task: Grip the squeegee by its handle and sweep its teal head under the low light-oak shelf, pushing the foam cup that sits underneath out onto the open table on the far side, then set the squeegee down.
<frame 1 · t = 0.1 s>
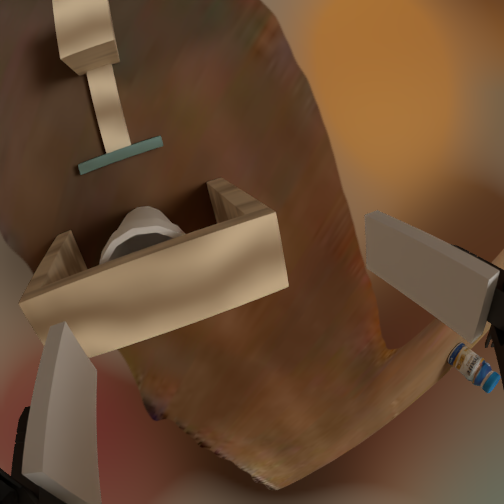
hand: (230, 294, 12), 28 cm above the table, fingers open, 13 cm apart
squeegee: (94, 43, 27), on the table
foam cup: (145, 230, 38), on the table
shelf: (145, 230, 38), on the table
beverage bottle: (454, 351, 85), on the table
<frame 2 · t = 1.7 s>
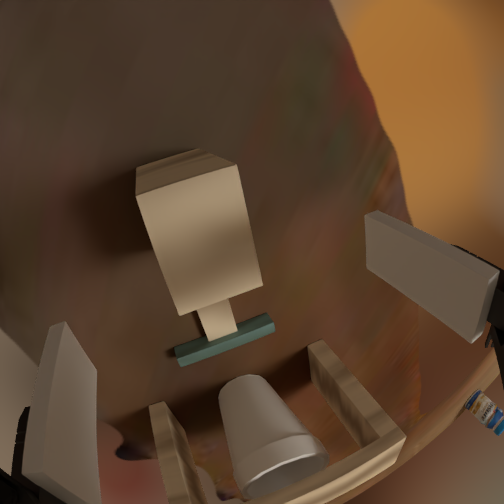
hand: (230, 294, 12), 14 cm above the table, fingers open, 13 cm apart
squeegee: (178, 199, 24), on the table
foam cup: (242, 391, 36), on the table
shelf: (243, 392, 36), on the table
beverage bottle: (471, 397, 84), on the table
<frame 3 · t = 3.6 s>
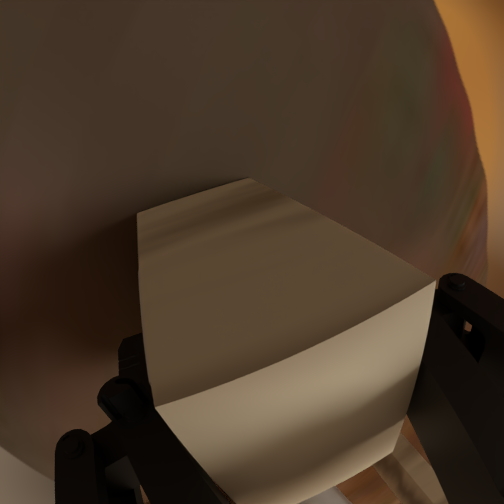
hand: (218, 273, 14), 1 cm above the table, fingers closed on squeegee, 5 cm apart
squeegee: (213, 265, 15), on the table, touching gripper
foam cup: (282, 471, 26), on the table
shelf: (283, 472, 26), on the table
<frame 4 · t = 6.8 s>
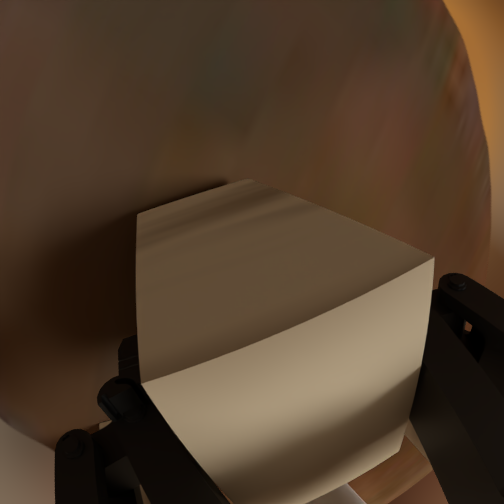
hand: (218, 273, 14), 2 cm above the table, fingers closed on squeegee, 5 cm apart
squeegee: (214, 267, 15), point 1 cm above the table, touching foam cup, gripper
foam cup: (267, 444, 25), on the table, touching squeegee
shelf: (256, 404, 21), on the table
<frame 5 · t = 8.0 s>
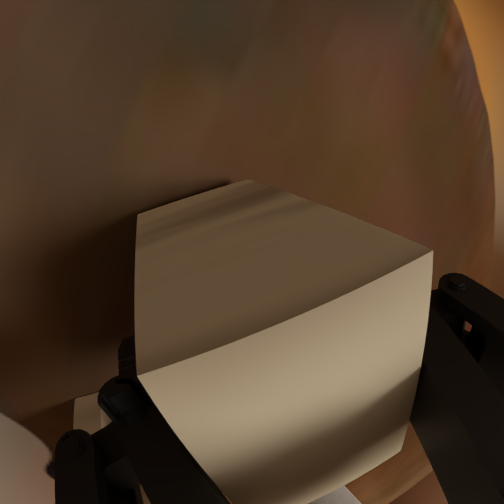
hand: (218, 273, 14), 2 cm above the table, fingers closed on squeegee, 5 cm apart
squeegee: (214, 268, 15), point 1 cm above the table, touching foam cup, gripper
foam cup: (265, 446, 25), on the table, touching squeegee
shelf: (248, 381, 20), on the table
when the fingers open (1 cm above the table, at t = 9.9 s): squeegee stays where it is, on the table.
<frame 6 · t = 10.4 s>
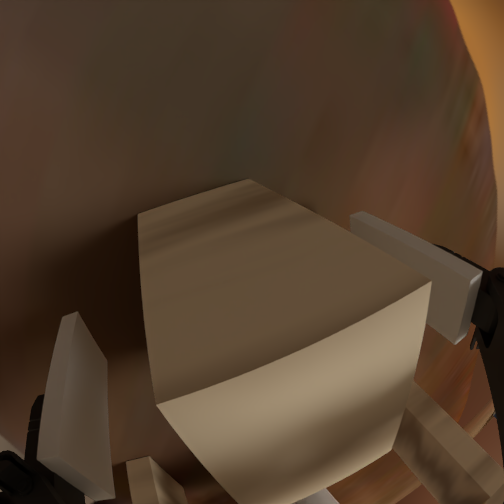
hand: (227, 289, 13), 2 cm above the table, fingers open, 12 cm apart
squeegee: (213, 266, 15), on the table
foam cup: (279, 478, 27), on the table
shelf: (270, 439, 22), on the table
beverage bottle: (499, 405, 70), on the table
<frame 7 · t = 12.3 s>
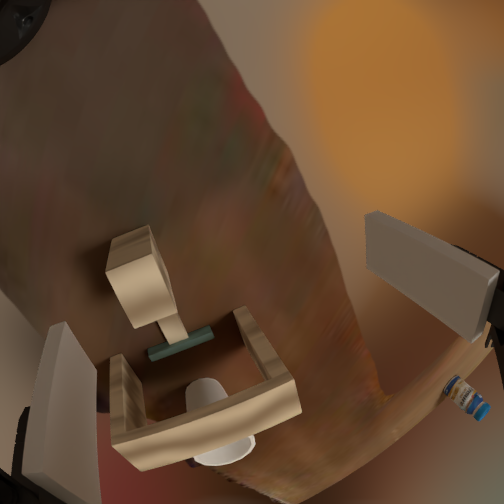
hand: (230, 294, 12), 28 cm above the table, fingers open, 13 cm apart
squeegee: (140, 256, 38), on the table
foam cup: (203, 390, 50), on the table
shelf: (184, 349, 46), on the table
beverage bottle: (450, 383, 91), on the table
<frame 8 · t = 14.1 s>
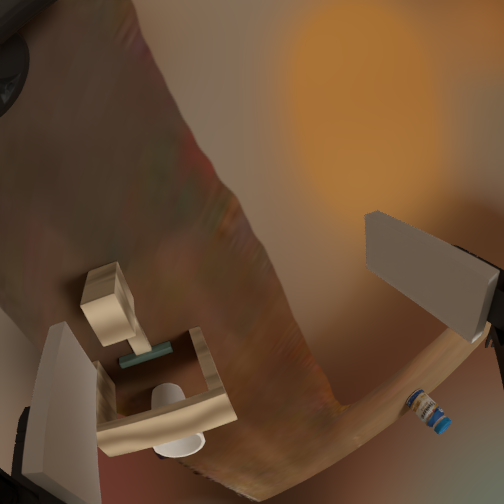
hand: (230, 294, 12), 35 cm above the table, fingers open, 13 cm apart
squeegee: (111, 285, 46), on the table
foam cup: (166, 392, 58), on the table
shelf: (149, 359, 53), on the table
beverage bottle: (413, 396, 101), on the table
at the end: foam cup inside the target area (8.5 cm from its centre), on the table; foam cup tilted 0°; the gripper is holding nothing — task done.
